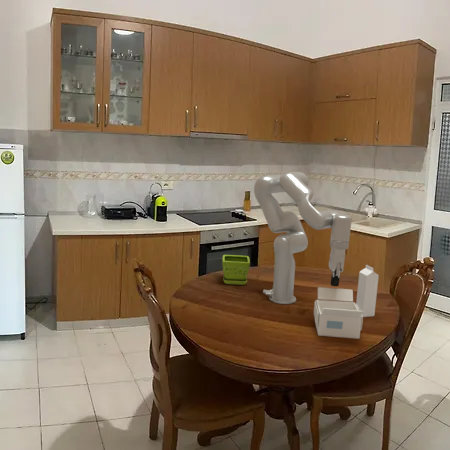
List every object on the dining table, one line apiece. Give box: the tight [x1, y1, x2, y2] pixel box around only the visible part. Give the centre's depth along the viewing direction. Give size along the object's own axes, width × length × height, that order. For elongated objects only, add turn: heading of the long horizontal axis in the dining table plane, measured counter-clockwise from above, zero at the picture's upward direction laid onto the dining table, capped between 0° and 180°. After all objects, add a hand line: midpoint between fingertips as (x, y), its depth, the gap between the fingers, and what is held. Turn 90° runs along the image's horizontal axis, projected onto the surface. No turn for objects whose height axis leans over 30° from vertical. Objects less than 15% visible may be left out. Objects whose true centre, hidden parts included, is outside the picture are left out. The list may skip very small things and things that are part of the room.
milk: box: [355, 264, 380, 318], centre depth 215 cm, size 6×6×22 cm
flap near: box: [322, 308, 363, 318], centre depth 188 cm, size 15×5×1 cm
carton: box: [313, 299, 364, 340], centre depth 199 cm, size 17×16×9 cm
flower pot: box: [221, 254, 251, 286], centre depth 253 cm, size 14×14×13 cm
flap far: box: [317, 286, 354, 302], centre depth 208 cm, size 15×5×1 cm
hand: (334, 285), depth 208 cm, fingers closed
